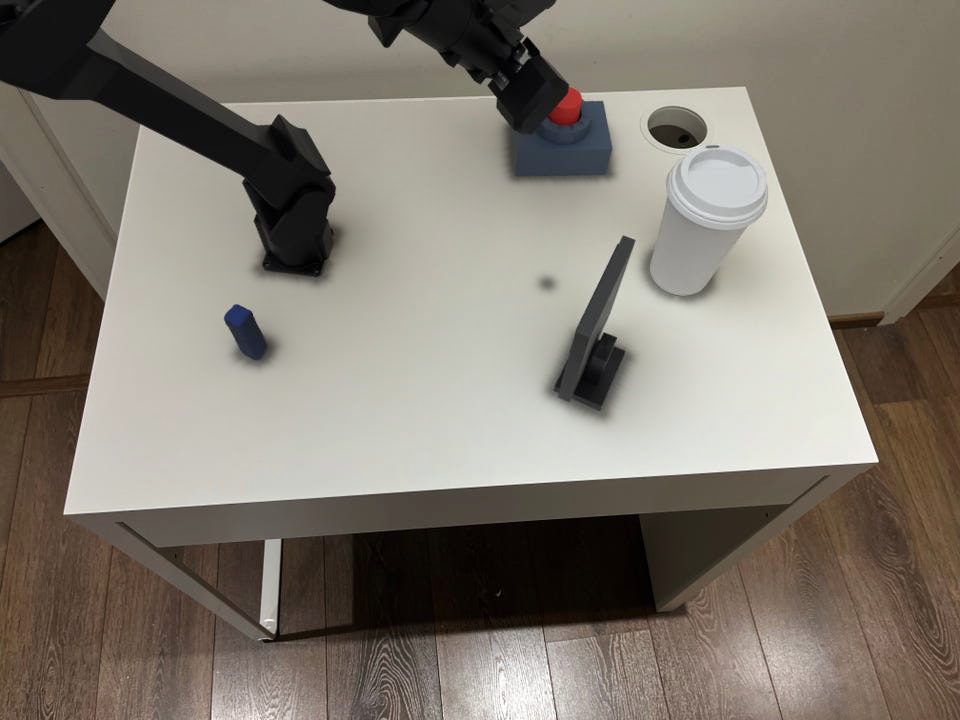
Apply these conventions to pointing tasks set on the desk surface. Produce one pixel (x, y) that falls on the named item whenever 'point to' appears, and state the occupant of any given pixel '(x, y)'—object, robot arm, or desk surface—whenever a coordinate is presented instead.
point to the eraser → (246, 331)
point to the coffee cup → (705, 215)
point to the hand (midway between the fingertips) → (540, 83)
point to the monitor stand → (597, 373)
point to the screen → (595, 317)
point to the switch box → (566, 146)
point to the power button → (567, 109)
